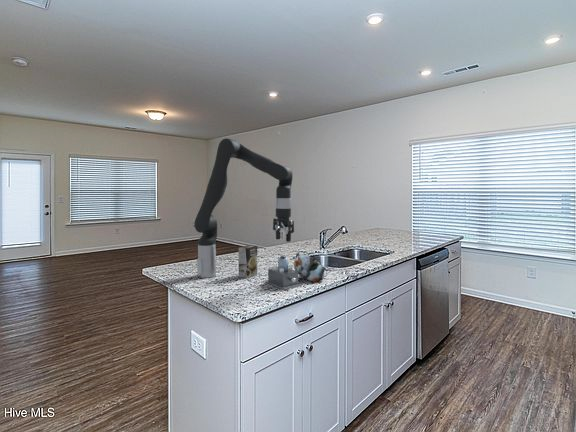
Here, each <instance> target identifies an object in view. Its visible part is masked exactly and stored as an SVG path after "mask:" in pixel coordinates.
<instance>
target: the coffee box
mask: <svg viewBox="0 0 576 432" xmlns="http://www.w3.org/2000/svg"><path fill="white" fill-rule="evenodd" d="M257 275H258V245H251V244H247V245H243V246H239V247H238V277H239V278H245V279H249V278H251V277H255V276H257Z"/></svg>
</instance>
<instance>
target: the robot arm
mask: <svg viewBox="0 0 576 432" xmlns="http://www.w3.org/2000/svg"><path fill="white" fill-rule="evenodd" d="M215 155H216V156H215V160H214V165H213V167H212V171H211V174H210V177H209V180H208V183H207V186H206V190H205V192H204V196H203V199H202V201H201V202H202V203H201V206H200V207H199V210H198V212H197V214H196V217H195V219H194V223H193V225H194V230H195V231H196V232H198V233H201V234H202V235H201V236H200V237H199V238H198V240H197V253H198V254H197V257H198V258H196V267H197V269H196V270H197V271H196V273H197V274H196V275H197V277H199V278H200V279H203V278H205V279H207V278H214V277H215V276H217V258H216V257H217V256H216V254H217V253H216V252H217V249H216V241H217V237H218V220H217V218H216V216H215V215H214V214H212V213H213V211H214V209H215V208H216V207H217V206H218V204H219V203H220V202H221V200H222V198H223V197H224V195H225V192H226V189H227V186H228V166H229V163H230V160H231V159H234V158H235V159H237V160H241V161H243V162H246V163H247V164H249V165H250V166H252V167H253V168H255V169H256V170H259V171H261V172H262V173H264V174H267V175H269V176H270V177H272V178H274V179H276V180H278V186H276V189H275V190H276V191H275V193H276V194H275V195H276V196H275V198H276V199H275V217H276V218H275V217H274V218H273V220H272V230H273V231H274V232H275V239H276V240H280V239H281V231H282V229H283V230H284V231H285V233H286V234H285V242H288V243H289V242H291V239H292V234H294V233H295V223H294V222H295V221H294V220H293V219H291V220H290V218H291V217H292V201H291V200H292V199H291V194H292V193H291V188H292V183H293V171H292V169H291V168H290V167H289V166H284V165H282V164H280V163H277V162H275V161H274V160H272V159H270V158H269V157H266V156H265V155H262V154H259V153H257V152H255V151H252V150H251V149H249V148H248V147H246V146H244V145H243V144H241V143H240V142H239V141H237V140H235V139H232V138H227V137H226V138H223V139H221V140H220V142H219V144H218V147H217V151H216V154H215Z"/></svg>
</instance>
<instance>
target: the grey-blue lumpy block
mask: <svg viewBox="0 0 576 432" xmlns="http://www.w3.org/2000/svg"><path fill="white" fill-rule="evenodd" d="M295 255H296V256H295V260H294V262H293V267H294V269H293V270H295V271H298V276H299V278H300V279H305V280H307V281H309V282H312V283H320V282H321V281H323V280H324V279H325V270H326V268H325V267H324V266H323V265H322V264H321V263H320V262H319V261H318V260H314V261H312V258H311V256H310V255H308V254H306V253H305V252H304V253H303V252H302V253H301V254H300V253H296V254H295Z"/></svg>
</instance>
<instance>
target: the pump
mask: <svg viewBox="0 0 576 432" xmlns="http://www.w3.org/2000/svg"><path fill="white" fill-rule="evenodd" d="M277 267H278V271H279V268H284V271H288V268H289V257H287V256H286V255H280V256H279V257H278V258H277Z"/></svg>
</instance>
